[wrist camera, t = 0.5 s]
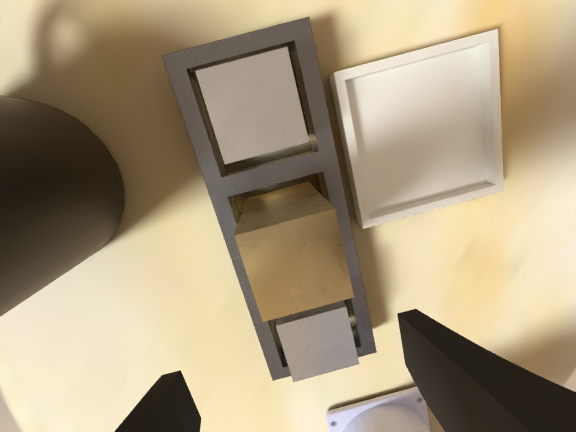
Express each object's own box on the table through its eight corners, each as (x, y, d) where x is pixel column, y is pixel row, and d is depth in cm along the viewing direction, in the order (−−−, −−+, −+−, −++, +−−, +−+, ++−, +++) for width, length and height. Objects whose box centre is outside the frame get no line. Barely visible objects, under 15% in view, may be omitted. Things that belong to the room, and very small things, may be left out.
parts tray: (488, 187, 18) (503, 190, 17) (357, 223, 18) (363, 228, 17) (481, 36, 16) (498, 28, 15) (328, 77, 16) (333, 72, 15)
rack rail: (366, 332, 21) (389, 376, 17) (272, 358, 21) (273, 408, 17) (303, 32, 15) (316, -4, 11) (174, 65, 15) (143, 41, 11)
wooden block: (322, 239, 19) (354, 297, 12) (263, 255, 19) (262, 322, 12) (308, 181, 17) (335, 208, 11) (246, 198, 17) (234, 235, 11)
